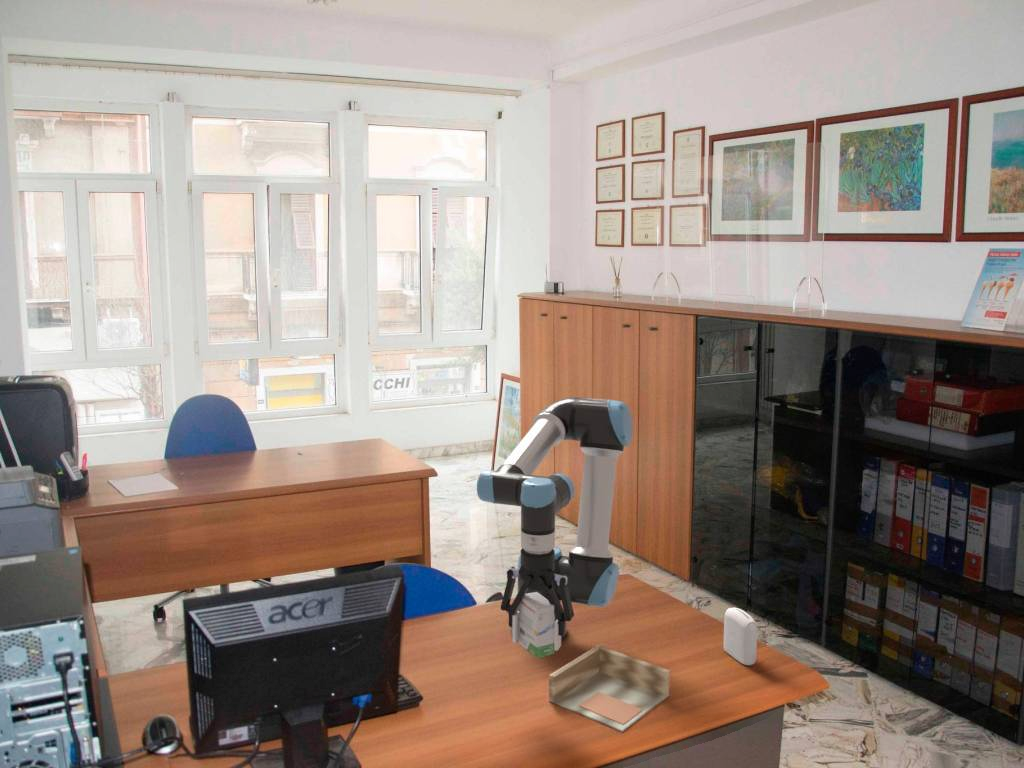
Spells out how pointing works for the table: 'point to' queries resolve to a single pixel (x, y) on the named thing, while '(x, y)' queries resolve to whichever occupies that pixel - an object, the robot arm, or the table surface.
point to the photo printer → (740, 636)
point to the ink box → (536, 625)
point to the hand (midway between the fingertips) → (536, 644)
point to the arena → (609, 683)
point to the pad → (610, 708)
